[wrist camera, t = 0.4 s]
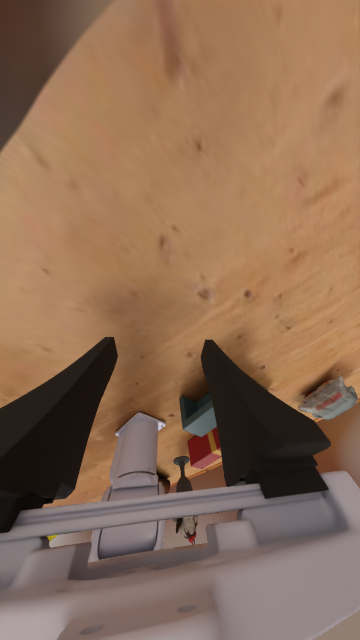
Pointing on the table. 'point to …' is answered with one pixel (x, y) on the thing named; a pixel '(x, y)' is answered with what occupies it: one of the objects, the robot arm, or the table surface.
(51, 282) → the table surface
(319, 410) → the packaged food
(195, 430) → the shelf rack
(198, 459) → the candy bar
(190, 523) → the sundae
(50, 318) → the table surface
